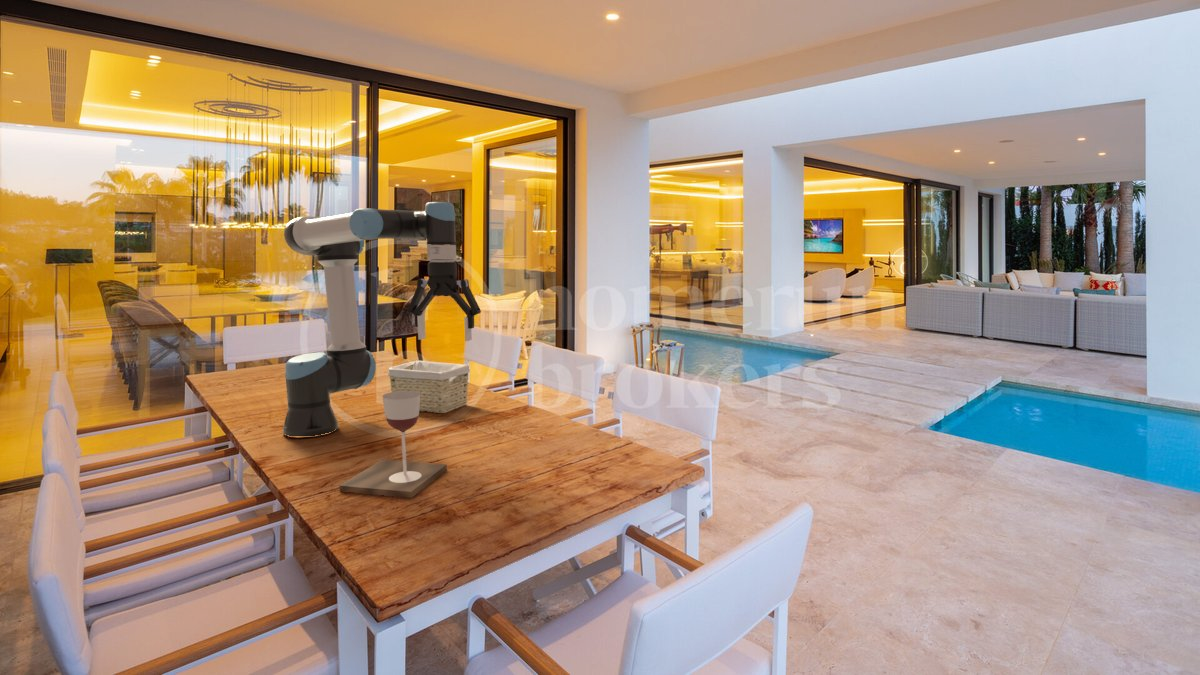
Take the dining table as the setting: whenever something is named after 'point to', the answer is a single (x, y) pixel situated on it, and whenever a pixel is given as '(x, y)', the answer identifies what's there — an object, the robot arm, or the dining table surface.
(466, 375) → the storage basket
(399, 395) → the wineglass
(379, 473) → the walnut board
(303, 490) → the dining table surface
